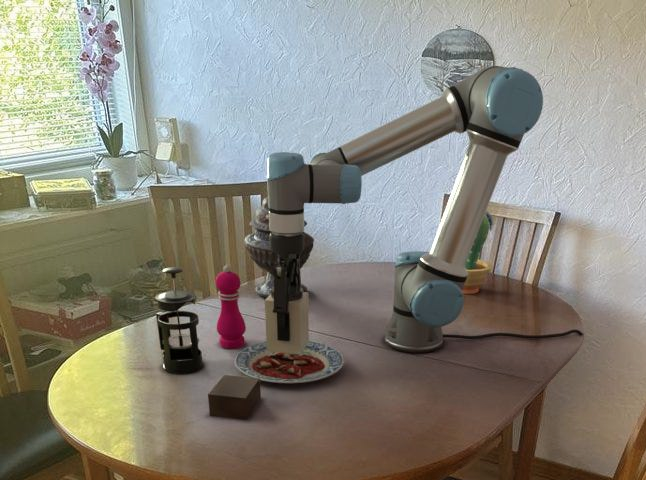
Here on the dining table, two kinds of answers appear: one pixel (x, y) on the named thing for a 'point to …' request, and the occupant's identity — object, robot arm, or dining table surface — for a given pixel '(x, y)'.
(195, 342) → the french press
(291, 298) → the beige box
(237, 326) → the pepper mill
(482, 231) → the potted cactus
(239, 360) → the ceramic plate
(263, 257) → the decorative urn
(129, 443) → the dining table surface
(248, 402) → the walnut block
